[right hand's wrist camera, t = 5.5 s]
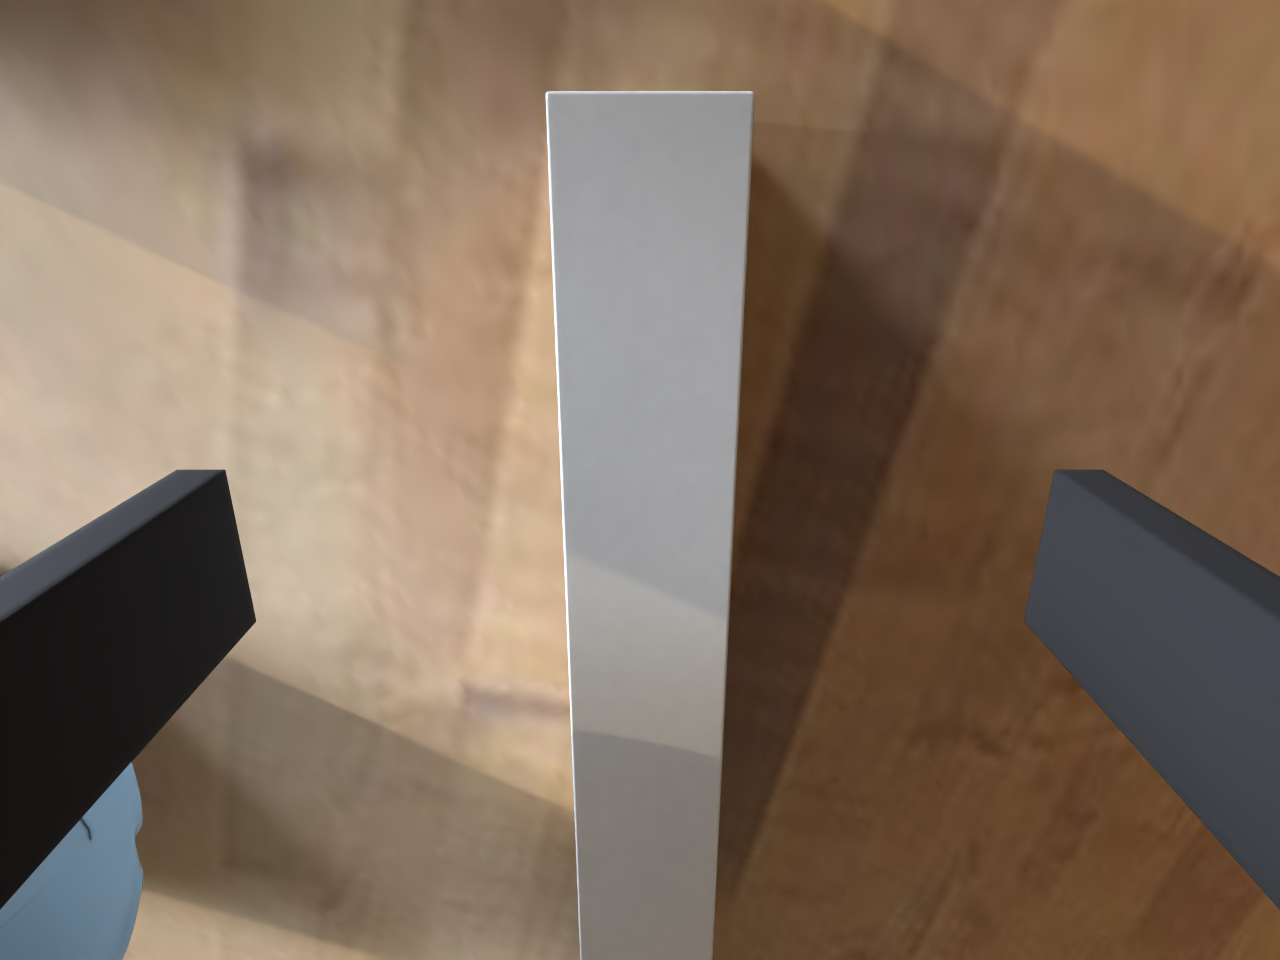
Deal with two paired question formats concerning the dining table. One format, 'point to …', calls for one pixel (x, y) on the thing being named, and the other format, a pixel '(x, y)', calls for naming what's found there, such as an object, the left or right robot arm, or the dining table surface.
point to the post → (648, 492)
